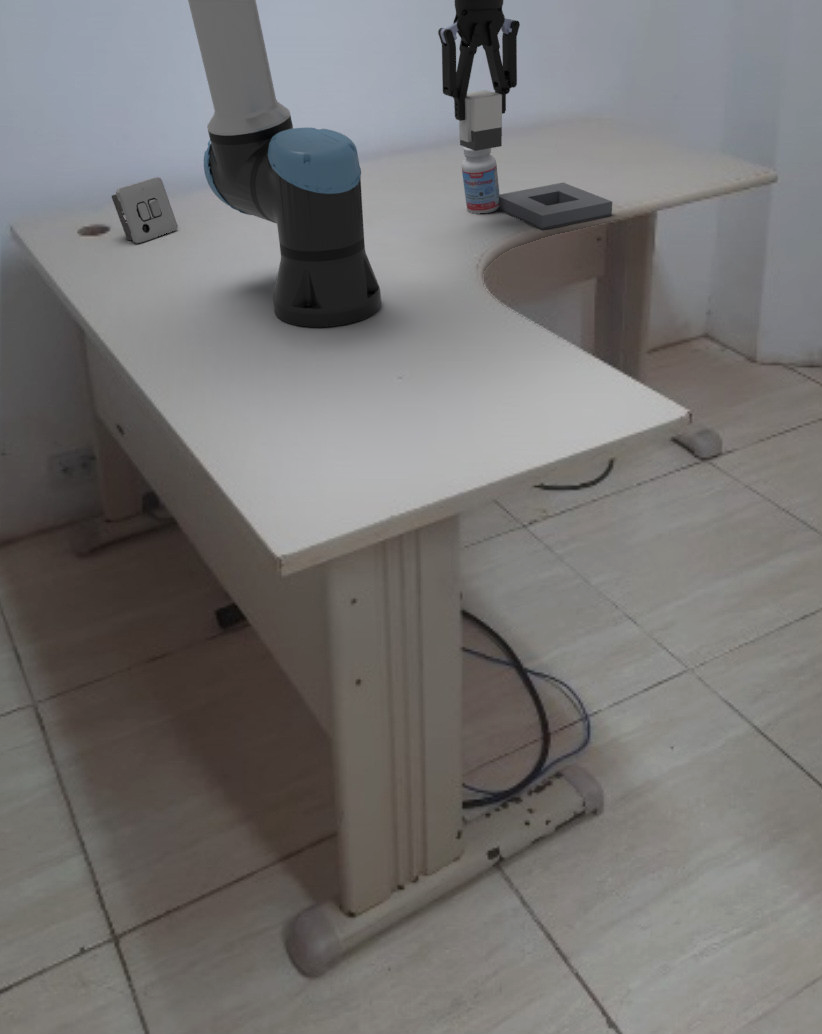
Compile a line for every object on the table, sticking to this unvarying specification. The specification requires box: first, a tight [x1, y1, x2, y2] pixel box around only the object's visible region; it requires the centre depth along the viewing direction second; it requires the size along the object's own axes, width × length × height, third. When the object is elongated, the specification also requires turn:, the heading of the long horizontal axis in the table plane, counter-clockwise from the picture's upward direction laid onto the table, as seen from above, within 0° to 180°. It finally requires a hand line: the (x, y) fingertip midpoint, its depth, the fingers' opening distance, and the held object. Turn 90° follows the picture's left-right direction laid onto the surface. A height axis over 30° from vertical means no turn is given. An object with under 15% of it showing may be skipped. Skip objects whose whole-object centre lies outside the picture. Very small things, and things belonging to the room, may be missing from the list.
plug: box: [459, 89, 503, 151], centre depth 172 cm, size 5×5×8 cm
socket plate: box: [498, 182, 613, 231], centre depth 183 cm, size 15×14×2 cm
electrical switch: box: [111, 176, 179, 244], centre depth 181 cm, size 9×5×9 cm, turn 141°
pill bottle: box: [461, 146, 500, 215], centre depth 184 cm, size 6×6×11 cm
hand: (480, 137), depth 174 cm, fingers closed on plug, 5 cm apart
